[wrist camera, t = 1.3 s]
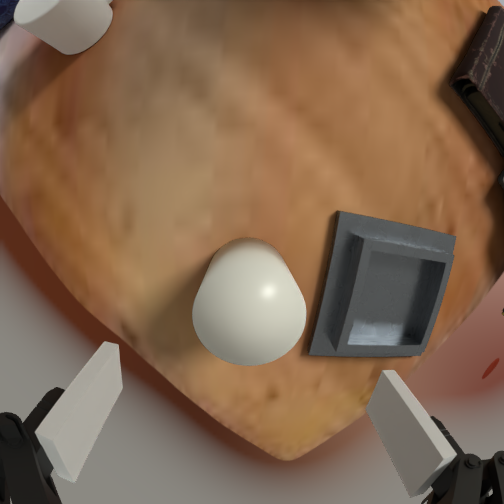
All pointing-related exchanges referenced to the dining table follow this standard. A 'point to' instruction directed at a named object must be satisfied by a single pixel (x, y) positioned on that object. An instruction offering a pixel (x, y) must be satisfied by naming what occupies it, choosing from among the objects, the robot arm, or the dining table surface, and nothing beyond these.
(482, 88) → the diary
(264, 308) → the plug
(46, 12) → the mug
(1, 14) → the planter
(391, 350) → the grey square tray
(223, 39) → the dining table surface
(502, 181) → the film camera
